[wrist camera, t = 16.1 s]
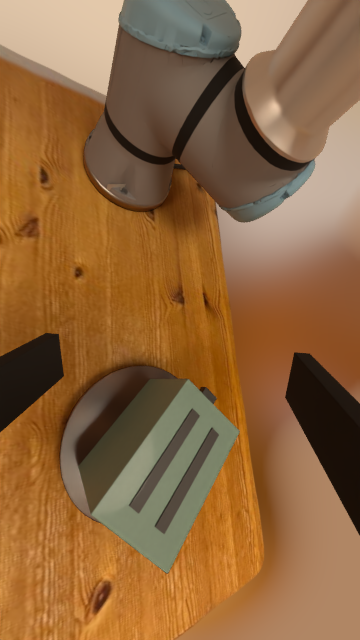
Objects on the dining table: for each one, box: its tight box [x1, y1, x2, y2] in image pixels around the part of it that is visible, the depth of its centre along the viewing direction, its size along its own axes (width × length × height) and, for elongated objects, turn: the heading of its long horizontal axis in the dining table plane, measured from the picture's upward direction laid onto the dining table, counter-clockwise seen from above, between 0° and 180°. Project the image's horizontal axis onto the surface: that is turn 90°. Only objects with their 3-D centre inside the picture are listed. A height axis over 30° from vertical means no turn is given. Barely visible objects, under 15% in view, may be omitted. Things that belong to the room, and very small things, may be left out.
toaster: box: [60, 366, 240, 574], centre depth 26 cm, size 19×19×12 cm
